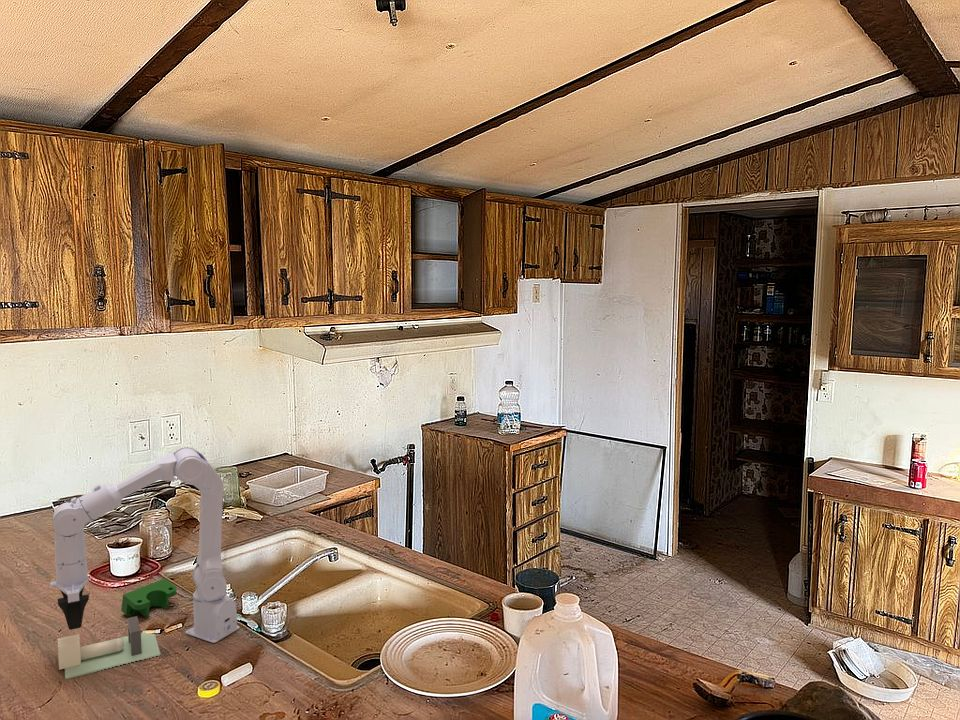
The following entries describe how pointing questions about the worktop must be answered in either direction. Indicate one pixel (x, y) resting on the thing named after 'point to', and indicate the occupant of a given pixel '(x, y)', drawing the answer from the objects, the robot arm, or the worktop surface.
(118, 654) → the mat
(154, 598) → the clamp
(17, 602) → the worktop surface
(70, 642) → the cream mallet
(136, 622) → the loop
